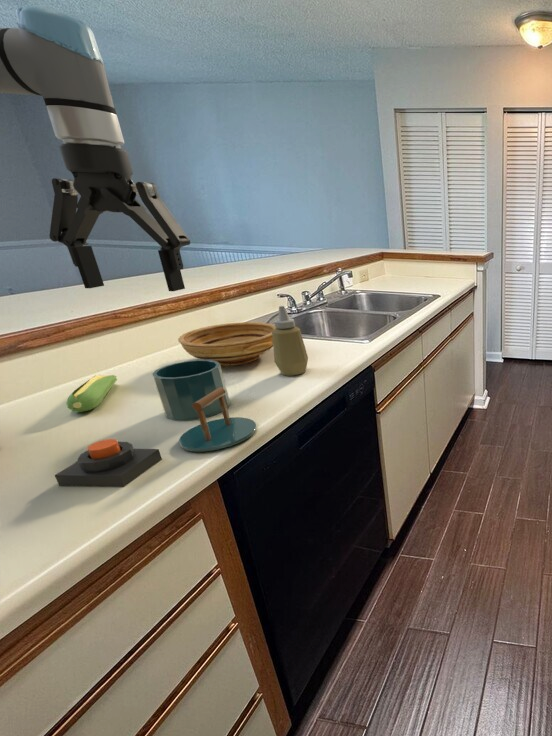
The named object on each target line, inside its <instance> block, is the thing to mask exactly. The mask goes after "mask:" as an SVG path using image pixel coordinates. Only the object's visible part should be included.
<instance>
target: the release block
mask: <svg viewBox="0 0 552 736" xmlns="http://www.w3.org/2000/svg"><path fill="white" fill-rule="evenodd" d="M118 444H119V446H120V449H121V450H120V451H119V452H118V453H116V454H114V455H111V456H108V457H105V458H100V459H92V458H91V456H90V454H89V452H88V449H87V450H86V451H84V452H81V454H79V456H78V458H77V459H76V462H74V463H72V464H70V465H69V466H67V467H66V468H64V469H61V470H60V471H59V472H57V473H56V474H54V477H55V480H56V482H57V484H58V486H59V487H85V488H86V487H89V488H91V487H92V488H125V487H127V486H128V485H129V484H130V483H132V482H133V481H134V480H136V479H137V478H138V477H140V476H142V474H144V473H146V472H147V471H148V470H150V469H152V467H154V466H155V465H157V464H158V463H159V462H160V461H162V460H163V458H162V455H161V452H160V449H159V448H134V445H133V444H132V443H131V442H128V441H118Z"/></svg>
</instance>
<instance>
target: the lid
mask: <svg viewBox="0 0 552 736" xmlns="http://www.w3.org/2000/svg"><path fill="white" fill-rule="evenodd" d="M225 393H226V391H225V389H223V388H221V387H220V388H217V389H216V390H214V391H212V392H211V393H209V394H208V395H206V396H204V397H203V398H201V399H199V400H198V401H196V402H195V403H193V405H192V407H193V409H194V410H196V411H197V413H198V416H199V419H198V420H199V423H200V424H198V425H196V426H193V427H191V428H189V429H188V430H186V431H185V432H183V434H181V435H180V436H179V439H178V444H179V446H180V448H182V450H185V451H190V452H211V451H217V450H221V449H226V448H228V447H232V446H235V445H237V444H239V443H241V442H244V441H246V440H247V439H249V438H250V437H251V436H253V435H254V434H255V432H256V431H257V427H258V426H257V423H256V421H255V420H253V419H251V418H248V417H243V416H242V417H241V416H239V417H238V416H236V417H233V416H232V417H230V414H229V411H228V408H227V406H226V403H225V399H224V396H223V395H225ZM217 399H219V402H220V406H221V409H222V412H221V413H222V416H223V418H218V419H213V420H210V421H207V417H205V414H204V411H203V408H205V407H206V406H208V405H209V404H211V403H212V402H214V401H216V400H217Z"/></svg>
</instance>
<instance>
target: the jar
mask: <svg viewBox="0 0 552 736" xmlns="http://www.w3.org/2000/svg"><path fill="white" fill-rule="evenodd" d="M151 375H152V378H153V382H154V385H155V388H156V390H157V393H158V397H159V400H160V403H161V405H162V409H163V412H164V414H165V417H166V418H167V419H168V420H171V421H175V422H187V421H195V420H200V419H199V416H198V413H197V411H196V410H194V409H193V407H192V405H193V403H195V402H196V401H198V400H199V399H201V398H203V397H204V396H206V395H208V394H209V393H211V392H212V391H214V390H216V389H217V388H220V387H221V388H223V389H225V391H226V393H225V395H223V396H224V399H225V403H226V406H227V409H228V408H229V407H230V405H231V403H230V402H231V401H230V398H229V397H230V396H229V393H228V389H227V386H226V382H225V377H224V374H223V370H222V365H220V363H219V362H217V361H213V360H203V359H193V360H192V359H191V360H184V361H180V362H174V363H171V364H166V365H164V366H161V367H159V368H158V369H155V370H154V371H153V372H152V373H151ZM203 411H204V414H205V418H210V417H213V416H215V415H219V414H220V413H222V409H221V406H220V402H219V399H217V400H216V401H214V402H212V403H211V404H209V405H208V406H206V407H205V408H203Z"/></svg>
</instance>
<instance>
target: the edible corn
mask: <svg viewBox="0 0 552 736" xmlns="http://www.w3.org/2000/svg"><path fill="white" fill-rule="evenodd" d="M117 381H118V378H117V375H114V374H111V375H103V374H102V375H97V374H96V375H94V376H93V377H91V378H90V379H88V380H87V381H85V382H84V383H82V384H81V385H79V386H78V387H77V388H75V390H74V391H72V392H71V393H70V394H69V395H68V397H67V401H66V406H67V409H69V410H71V412H79V413H83V412H87V411H91V410H93V409H95V408H98V407H99V406H100V405H101V404H102V402H103V401H104V399H105V398H106V396H107V395H108V393H109V392H110V390H111V389H112V387H113V386H114V384H115V383H116V382H117Z"/></svg>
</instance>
